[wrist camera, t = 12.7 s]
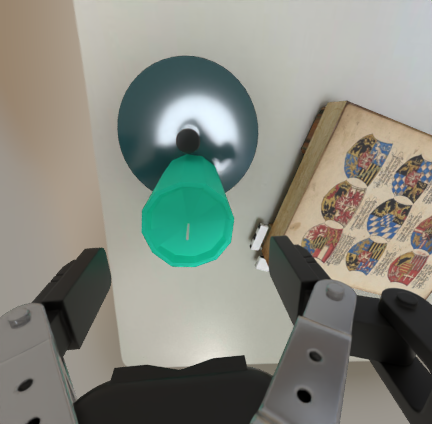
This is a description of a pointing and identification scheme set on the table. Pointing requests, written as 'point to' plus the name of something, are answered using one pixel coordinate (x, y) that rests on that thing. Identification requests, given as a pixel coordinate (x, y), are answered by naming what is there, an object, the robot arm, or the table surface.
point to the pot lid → (187, 120)
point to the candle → (188, 214)
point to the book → (361, 202)
